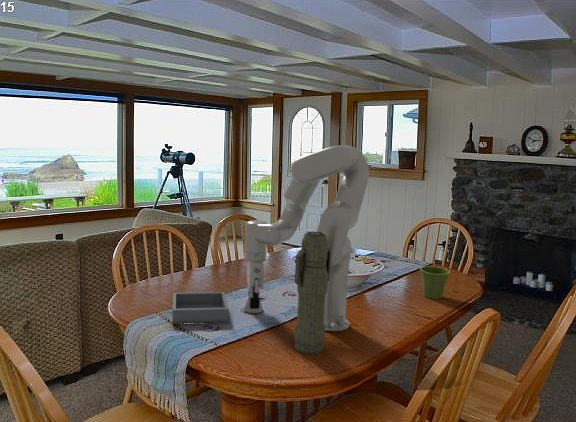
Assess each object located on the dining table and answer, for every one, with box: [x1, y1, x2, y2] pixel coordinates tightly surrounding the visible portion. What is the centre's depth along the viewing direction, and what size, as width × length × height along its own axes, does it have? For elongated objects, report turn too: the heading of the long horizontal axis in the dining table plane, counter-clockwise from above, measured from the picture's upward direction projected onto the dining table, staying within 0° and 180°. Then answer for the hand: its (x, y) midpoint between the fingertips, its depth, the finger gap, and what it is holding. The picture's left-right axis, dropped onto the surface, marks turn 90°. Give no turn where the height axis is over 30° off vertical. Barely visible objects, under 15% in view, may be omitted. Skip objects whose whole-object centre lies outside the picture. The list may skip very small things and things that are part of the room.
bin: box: [171, 291, 230, 325], centre depth 179 cm, size 18×18×5 cm
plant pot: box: [419, 265, 451, 300], centre depth 211 cm, size 12×12×11 cm
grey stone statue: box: [293, 231, 331, 355], centre depth 153 cm, size 9×12×35 cm
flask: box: [243, 287, 264, 314], centre depth 185 cm, size 7×7×10 cm
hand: (253, 305), depth 186 cm, fingers closed on flask, 4 cm apart
